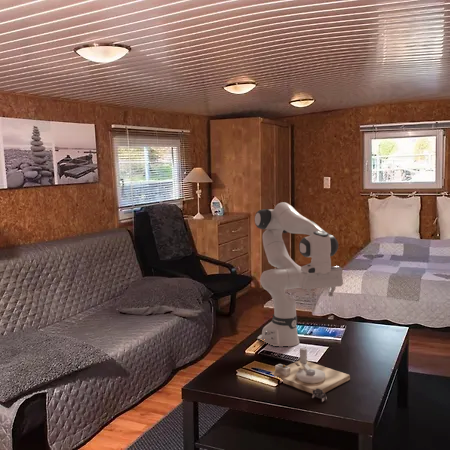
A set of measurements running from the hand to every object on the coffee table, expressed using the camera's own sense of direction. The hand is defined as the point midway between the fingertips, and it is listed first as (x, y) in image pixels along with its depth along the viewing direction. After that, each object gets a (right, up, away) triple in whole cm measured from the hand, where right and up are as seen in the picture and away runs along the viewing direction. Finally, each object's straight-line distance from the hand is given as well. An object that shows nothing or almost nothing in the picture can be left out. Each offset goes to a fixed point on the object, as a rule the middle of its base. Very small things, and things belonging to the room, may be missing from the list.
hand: (321, 297), depth 238 cm
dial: (-8, -31, -14) cm, 35 cm away
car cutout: (-4, -37, -35) cm, 51 cm away
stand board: (-8, -33, -14) cm, 37 cm away
